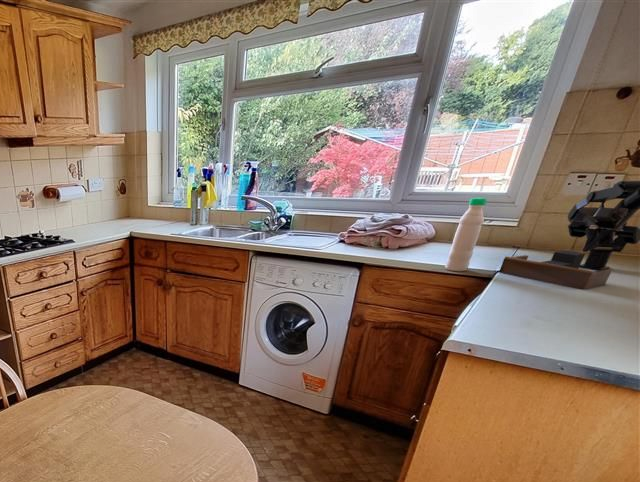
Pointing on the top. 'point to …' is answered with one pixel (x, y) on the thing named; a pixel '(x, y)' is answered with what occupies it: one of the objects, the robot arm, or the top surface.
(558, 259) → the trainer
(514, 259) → the brown shallow tray
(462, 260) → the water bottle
